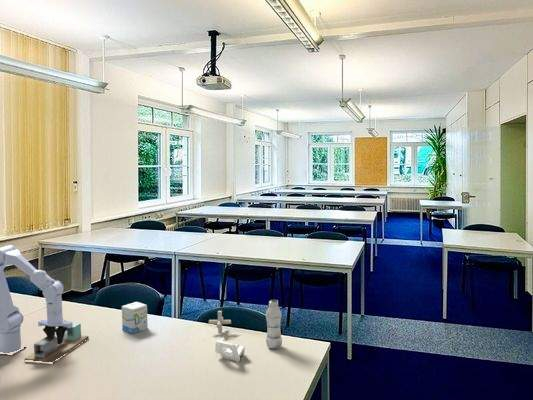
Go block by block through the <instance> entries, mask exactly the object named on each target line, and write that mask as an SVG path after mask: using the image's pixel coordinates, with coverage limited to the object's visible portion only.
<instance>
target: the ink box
mask: <svg viewBox="0 0 533 400" xmlns="http://www.w3.org/2000/svg"><path fill="white" fill-rule="evenodd" d="M121 321H122V322H121V325H122V327H121V328H122V329H121V330H122V331H124V332H127V333H128V334H136V332H137V333H139V332H141V330H142V331H144V329H145V330H147V329H148V326H149V325H148V305H147V304H145V303H142V302H139V301H133V302H132V303H127V304H125V305H122V306H121Z"/></svg>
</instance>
